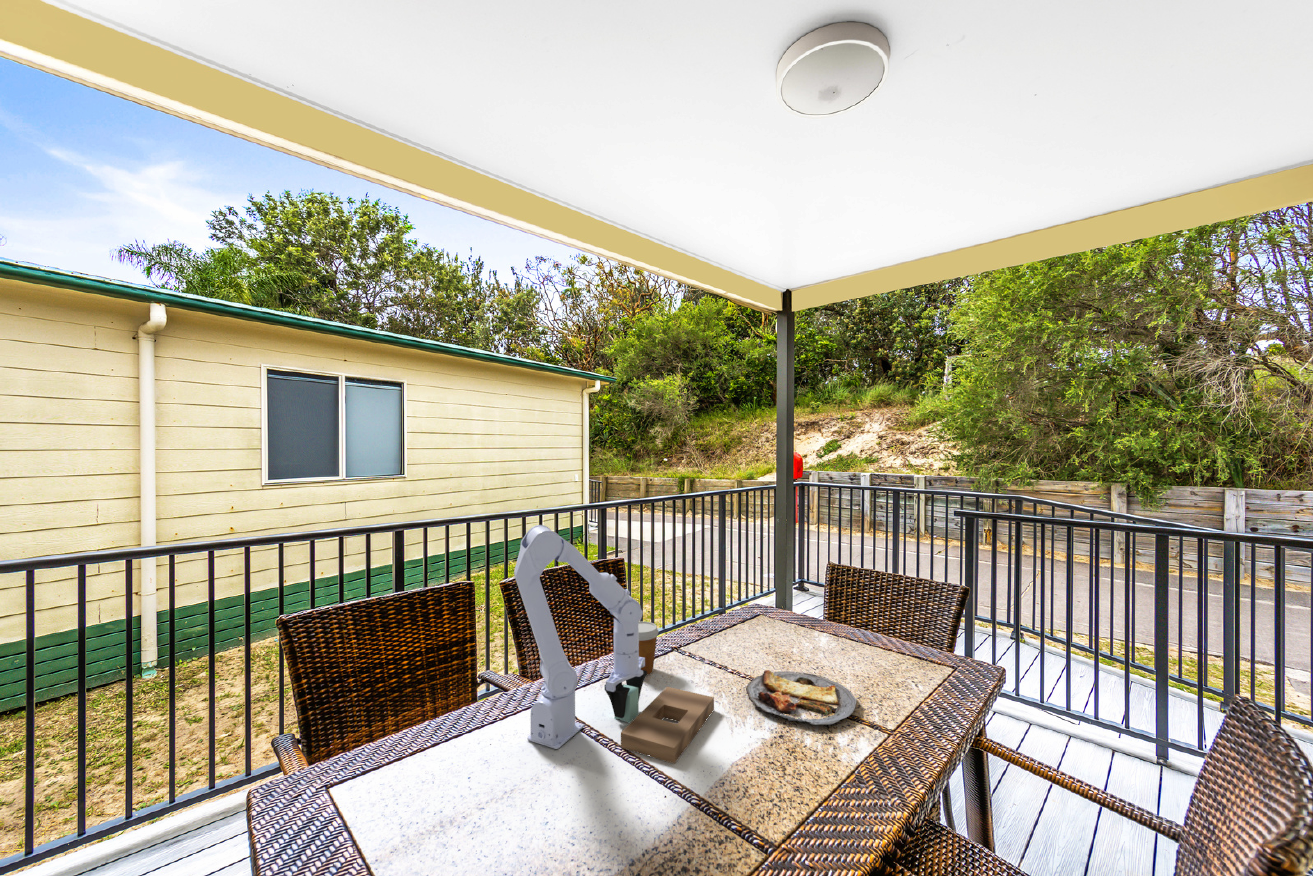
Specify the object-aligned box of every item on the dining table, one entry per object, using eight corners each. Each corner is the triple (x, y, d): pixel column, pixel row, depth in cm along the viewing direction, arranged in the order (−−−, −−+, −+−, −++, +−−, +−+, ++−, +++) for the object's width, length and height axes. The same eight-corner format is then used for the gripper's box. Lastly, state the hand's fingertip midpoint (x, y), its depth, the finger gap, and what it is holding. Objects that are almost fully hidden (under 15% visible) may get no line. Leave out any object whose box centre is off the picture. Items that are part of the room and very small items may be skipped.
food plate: (733, 711, 116) (733, 695, 116) (761, 672, 136) (762, 659, 136) (848, 743, 104) (849, 726, 104) (860, 695, 124) (860, 681, 125)
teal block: (629, 722, 111) (629, 695, 111) (614, 718, 113) (614, 691, 113) (638, 714, 115) (638, 687, 115) (623, 710, 116) (623, 684, 117)
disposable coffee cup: (644, 682, 130) (644, 635, 131) (616, 672, 136) (616, 628, 136) (665, 669, 138) (665, 625, 138) (639, 660, 144) (638, 618, 144)
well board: (674, 763, 96) (674, 748, 96) (620, 747, 102) (620, 732, 102) (714, 710, 116) (713, 697, 116) (667, 699, 121) (667, 686, 121)
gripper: (625, 665, 106) (625, 730, 106) (656, 641, 119) (656, 699, 119) (597, 659, 109) (597, 722, 109) (630, 636, 122) (630, 693, 122)
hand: (626, 709), depth 114 cm, fingers open, 6 cm apart
